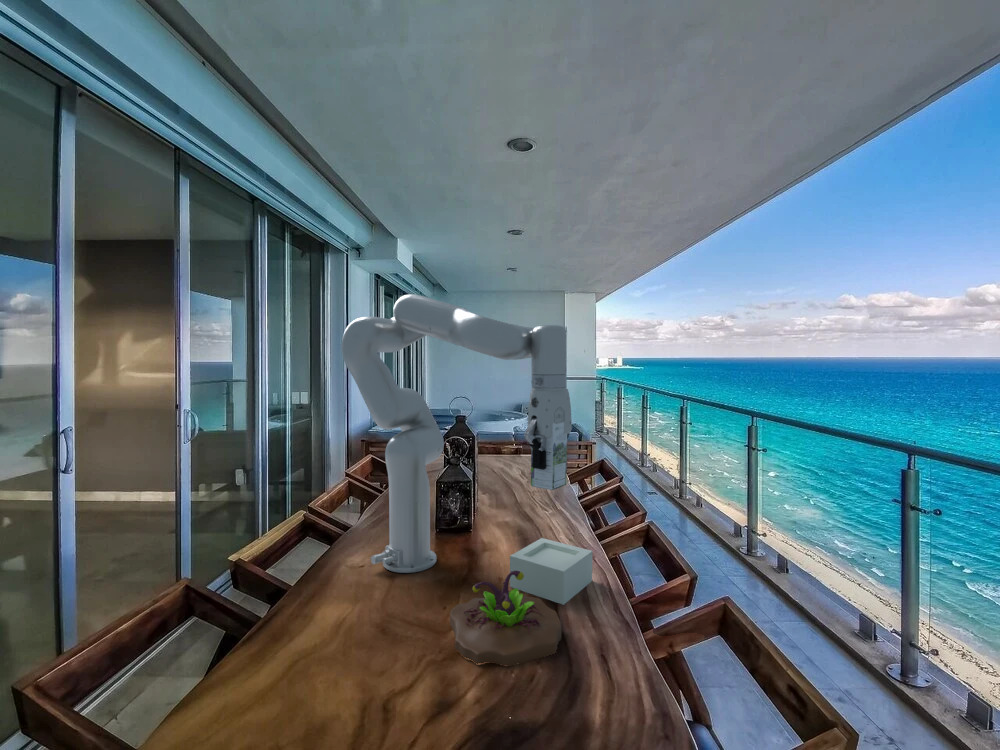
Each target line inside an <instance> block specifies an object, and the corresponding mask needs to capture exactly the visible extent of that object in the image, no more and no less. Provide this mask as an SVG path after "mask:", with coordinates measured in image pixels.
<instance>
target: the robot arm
mask: <svg viewBox="0 0 1000 750" xmlns="http://www.w3.org/2000/svg"><path fill="white" fill-rule="evenodd" d="M392 310H393V311H392V312H393V317H391V318H385V317H380V316H379V317H378V316H361V317H358V318H355V319H354V320H353V321H351V322H350V323H349V324H348V325H347V326H346V328H345V330H344V332H343V335H342V339H341V344H340V345H341V355H342V358H343V361H344V364H345V366H346V367H347V370H348V371H349V373H350V374H351V376H352V379H354V381H355V383H356V386H357V387H358V391H359V392H360V395H361V397H362V399H363V401H364V404H365V405H366V407H367V409H368V411H369V413H370V415H371V418H372V419H373V422H374V423H375V424H376V425H377V426H378V427H379V428H380V429H383V430H395V429H400V432H398V433H396V434H394V435H393V436H392V437H391V438H390V439H389V440H388V442H387V445H386V447H385V453H384V459H385V466H386V471H387V477H388V478H387V479H388V499H389V500H388V501H389V504H388V505H389V506H388V507H389V508H388V509H389V515H388V516H389V517H388V519H389V520H388V521H389V523H388V525H389V526H388V527H389V528H388V529H389V531H388V532H389V544H387V545H385V548H384V550H383V551H382V553H376V554H373V555H371V556H370V561H371V564H372V565H376V564H379V563H382V566H383V567H384V568H385V569H386V570H389V572H390V571H391V572H394V573H400V574H404V573H405V574H409V573H417V572H422V571H425V570H428V569H430V568H432V567H433V566H435V564H436V563H437V554H436V553H435V552H434V551H432V549H431V495H430V494H431V488H430V480H429V476H428V471H427V465H430V464H432V463H433V462H435V461H436V460H438V459H439V458H440V457H441V455H442V454H443V451H444V446H445V441H444V436H443V435H442V431H441V430H440V429H441V428H440V427H439V425H438V424H437V421H436V420H435V417H434V415H433V414H432V411H431V410H430V408H429V406H428V404H427V402H426V400H425V399H424V397H423V396H422V394H420V393H419V392H418V391H417V390H415V389H412V388H408V387H402V388H401V387H399V385H398V383H397V382H396V380H395V378H394V376H393V374H392V372H391V370H390V368H389V367H388V365H387V364H386V363H385V362H384V361H383V360H382V359H381V357H380V355H379V353H395V352H398V351H401V350H403V349H405V348H407V347H408V346H411V345H413V344H414V343H416V342H417V341H420V340H421V339H424V338H425V337H426V336H428V337H431V338H434V339H438V340H441V341H443V342H447V343H450V344H452V345H455V346H459V347H462V348H465V349H467V350H471V351H474V352H476V353H480V354H483V355H487V356H490V357H493V358H497V359H500V360H505V361H510V360H512V361H513V360H515V361H516V360H526V359H531V380H530V381H531V390H530V394H529V401H528V411H527V412H528V413H527V428H526V430H525V431H524V433H523V437H524V439H525V440H526V441H527V443H528V445H529V446H530V450H531V449H532V450H533V468H537V469H542V470H544V469H546V451H545V450H544V447H545V442H546V438H550V437H552V423H562V422H564V434H567V440H568V438H569V436H570V433H571V432H572V429H573V424H572V423H573V422H572V406H571V405H572V404H571V397H570V392H569V389H568V388H567V381H568V379H567V367H568V365H567V363H568V362H567V361H568V360H567V358H568V357H567V352H568V351H567V348H568V347H567V343H568V342H567V338H568V337H567V335H568V333H567V329H566V328H565V327H564V326H563V325H558V324H557V325H556V324H550V325H549V324H547V325H545V324H543V325H536V326H534V327H531V326H530V327H529V326H521V325H519V324H512V323H508V322H504V321H500V320H497V319H493V318H489V317H486V316H482V315H480V314H477V313H474V312H471V311H469V310H468V309H467V308H465V307H462V306H459V305H455V304H452V303H448V302H446V301H445V302H444V301H441V300H439V299H434V298H431V297H428V296H425V295H420V294H415V293H410V294H409V293H408V294H403V296H400V297H399V298H398V299H397V300H396V301H395V303H394V306H393V309H392ZM537 432H539V433H540V435H537ZM538 439H541V440H540V443H539V442H538Z"/></svg>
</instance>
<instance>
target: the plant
mask: <svg viewBox="0 0 1000 750" xmlns="http://www.w3.org/2000/svg"><path fill="white" fill-rule="evenodd" d="M512 575H515V577H516V579H518V580H522V579H523V577H524V575H523V573H522V572H521V571H515V570H514V571H511V572H510V571H509V573H508V574H507V576H506V577H505V579H504V581H503V583H502V585H503V586H502V590H500V589H498V588H497V587H498V586H497V587H496V585H494V583H491V582H488V581H484V580H483V581H481V582H478V583H475V584H474V585H473V586H472V591H473V593H475V594H476V593H478V592H479V591H480V587H481V586H487V588H488V587H489V588H490V589H491V591H492V592H493V593H492V592H489V591H483V597H473V598H471V599H470V600H469V601H467V602H465V603H458V604H456V605H455V606H454V607H452V609H451V610H450V612H449V625H451V626H450V628H451V627H452V628H451V630H452V629H453V630H452V632H453V631H454V632H453V634H454V633H455V634H454V637H455V639H454V650H455V649H456V650H458V651H459V652H460V653H461V654H462V655H463V656H464V657H466V658H469V659H471V660H473V661H474V662H475V663H477V664H478V663H484V662H495V663H498V664H502V665H509V666H508V667H511V666H510V665H513V666H515V665H514V664H517V663H520V664H523V663H522V662H525V663H527V662H526V661H528V662H531V661H530V660H532V661H535V660H534V659H536V660H539V659H538V658H540V659H543V658H542V657H544V658H547V657H546V656H548V657H550V656H549V655H551V656H553V655H552V654H554V653H556V654H557V651H556V650H558V646H559V643H560V642H561V640H562V622H561V620H560V617H559V616H558V613H557V611H556V610H554V609H552V608H550V607H549V606H547V605H546V603H545V602H544V601H543V600H542V599H541V597H534V596H527V595H524V594H523V593H520V590H518V589H517V588H516V589H515V588H512V589H511V590H510V591H509V586H510V577H511V576H512ZM559 641H560V642H559ZM558 642H559V643H558ZM557 645H558V646H557ZM456 650H455V651H456ZM554 655H555V654H554ZM498 664H497V665H498ZM502 665H501V666H502ZM517 665H518V664H517Z"/></svg>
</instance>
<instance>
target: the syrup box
mask: <svg viewBox="0 0 1000 750" xmlns="http://www.w3.org/2000/svg"><path fill="white" fill-rule="evenodd" d="M537 435H540V433H539V432H537ZM540 440H541V439H538V442H539V443H540ZM530 450H531V452H530V453H531V454H530V458H531V460H530V486H531V487H532V488H538V489H542V490H550V491H554V490H557V489H559V488H561V487H564V486H567V475H568V474H567V473H568V471H567V470H568V468H567V466H568V439H567V434H564V422H562V423H552V437H550V438H546V442H545V447H544V450H545V451H546V469H544V470H542V469H537V468H533V450H532V449H531V448H530Z"/></svg>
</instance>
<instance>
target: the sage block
mask: <svg viewBox="0 0 1000 750" xmlns="http://www.w3.org/2000/svg"><path fill="white" fill-rule="evenodd" d="M514 570H515V571H521V572H522V573H523V575H524V577H523V579H522V580H518V579H516V577H515V575H512V576H511V577H510V580H509V588H512V589H516V588H517V589H518V591H522V592H524V593H527V594H531V595H533V596H536V597H538V598H542V599H546V600H548V601H552V602H554V603H556V604H557V603H558V604H560V605H562V606H563V605H565V604H567V603H568V602H569V601H570V600H571V599H573V598H574V597H575V596H576V595H578V594H579V593H580V592H581V591H582V590H583V589H584V588H585V587H587V586H588V585H589V584H591V582H592V581H593V550H590V549H588V548H587V549H586V548H582V547H578V546H574V545H570V544H567V543H562V542H559V541H556V540H551V539H546V538H544V537H540V538H539V539H537V540H536V541H533V542H532V543H530V544H528V545H527V546H525V547H523V548H521V549H519V550H518V551H516V552H514V553H513V554H510V555H509V573H510V572H511V571H514Z"/></svg>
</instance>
